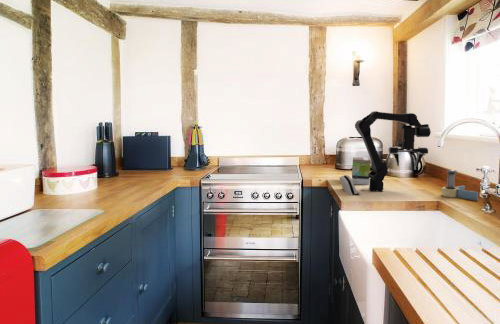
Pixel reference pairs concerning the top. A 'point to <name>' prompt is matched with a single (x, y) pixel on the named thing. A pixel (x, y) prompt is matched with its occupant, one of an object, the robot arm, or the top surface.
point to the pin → (451, 179)
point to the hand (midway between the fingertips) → (407, 166)
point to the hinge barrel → (460, 193)
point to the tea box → (360, 170)
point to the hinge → (348, 185)
